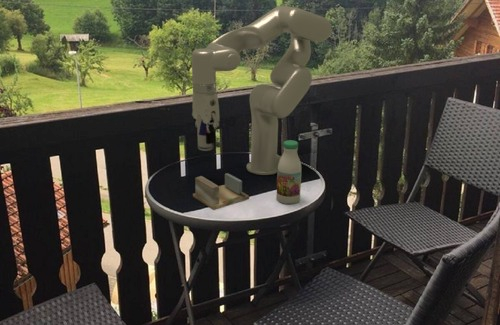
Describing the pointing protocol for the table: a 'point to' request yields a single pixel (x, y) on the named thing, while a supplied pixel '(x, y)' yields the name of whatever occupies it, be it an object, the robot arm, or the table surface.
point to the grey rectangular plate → (233, 184)
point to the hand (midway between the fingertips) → (205, 140)
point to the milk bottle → (289, 174)
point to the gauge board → (223, 197)
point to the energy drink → (203, 135)
